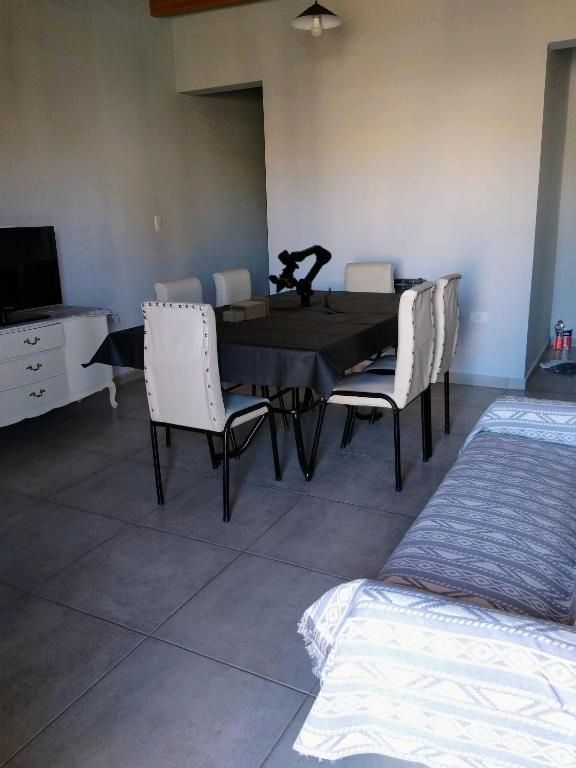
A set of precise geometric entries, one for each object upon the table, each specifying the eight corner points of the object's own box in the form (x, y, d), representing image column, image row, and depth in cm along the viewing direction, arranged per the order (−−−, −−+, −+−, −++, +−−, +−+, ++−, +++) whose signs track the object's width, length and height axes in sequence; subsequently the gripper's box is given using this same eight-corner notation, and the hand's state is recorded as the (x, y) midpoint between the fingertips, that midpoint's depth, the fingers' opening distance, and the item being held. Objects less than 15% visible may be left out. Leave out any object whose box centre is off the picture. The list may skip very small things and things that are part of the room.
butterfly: (312, 293, 344) (327, 284, 339) (320, 293, 353) (334, 284, 348) (325, 321, 342) (340, 312, 337) (333, 321, 350) (348, 312, 346)
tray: (252, 314, 349) (251, 296, 346) (269, 316, 341) (268, 297, 338) (220, 320, 333) (219, 301, 330) (237, 323, 324) (236, 303, 321)
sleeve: (249, 314, 348) (248, 300, 345) (265, 316, 339) (265, 302, 337) (231, 318, 338) (230, 304, 335) (247, 321, 329) (246, 306, 327)
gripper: (308, 280, 356) (296, 303, 352) (283, 277, 368) (271, 299, 363) (299, 268, 348) (287, 291, 344) (274, 265, 359) (261, 288, 355)
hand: (276, 292), depth 351 cm, fingers closed
